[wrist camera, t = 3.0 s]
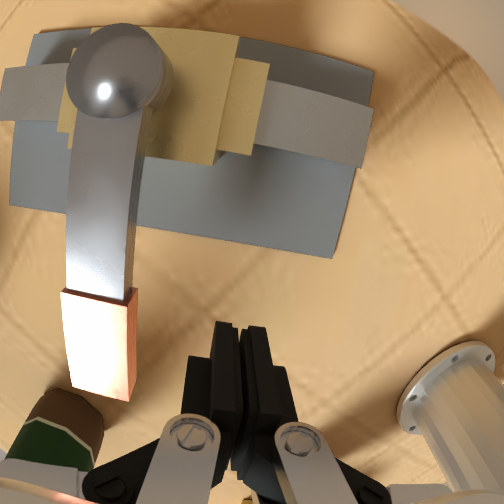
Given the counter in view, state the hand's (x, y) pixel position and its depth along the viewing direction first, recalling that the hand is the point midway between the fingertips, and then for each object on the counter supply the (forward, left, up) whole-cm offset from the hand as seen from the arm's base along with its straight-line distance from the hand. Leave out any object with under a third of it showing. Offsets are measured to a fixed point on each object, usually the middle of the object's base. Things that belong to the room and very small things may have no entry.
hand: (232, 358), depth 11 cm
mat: (+5, -7, -11) cm, 15 cm away
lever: (+5, -3, -3) cm, 7 cm away
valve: (+5, -9, -11) cm, 15 cm away
